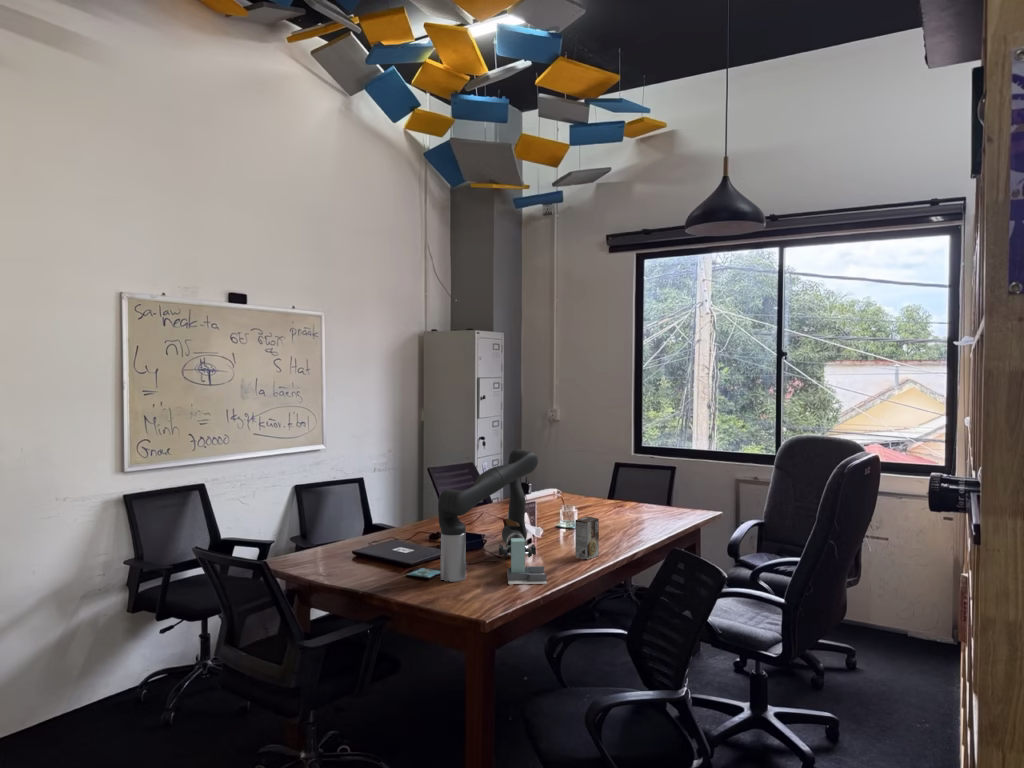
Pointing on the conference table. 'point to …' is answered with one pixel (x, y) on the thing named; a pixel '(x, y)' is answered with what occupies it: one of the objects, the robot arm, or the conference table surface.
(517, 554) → the teal post
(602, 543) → the conference table surface
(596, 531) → the coffee box
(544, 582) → the keyhole guide
